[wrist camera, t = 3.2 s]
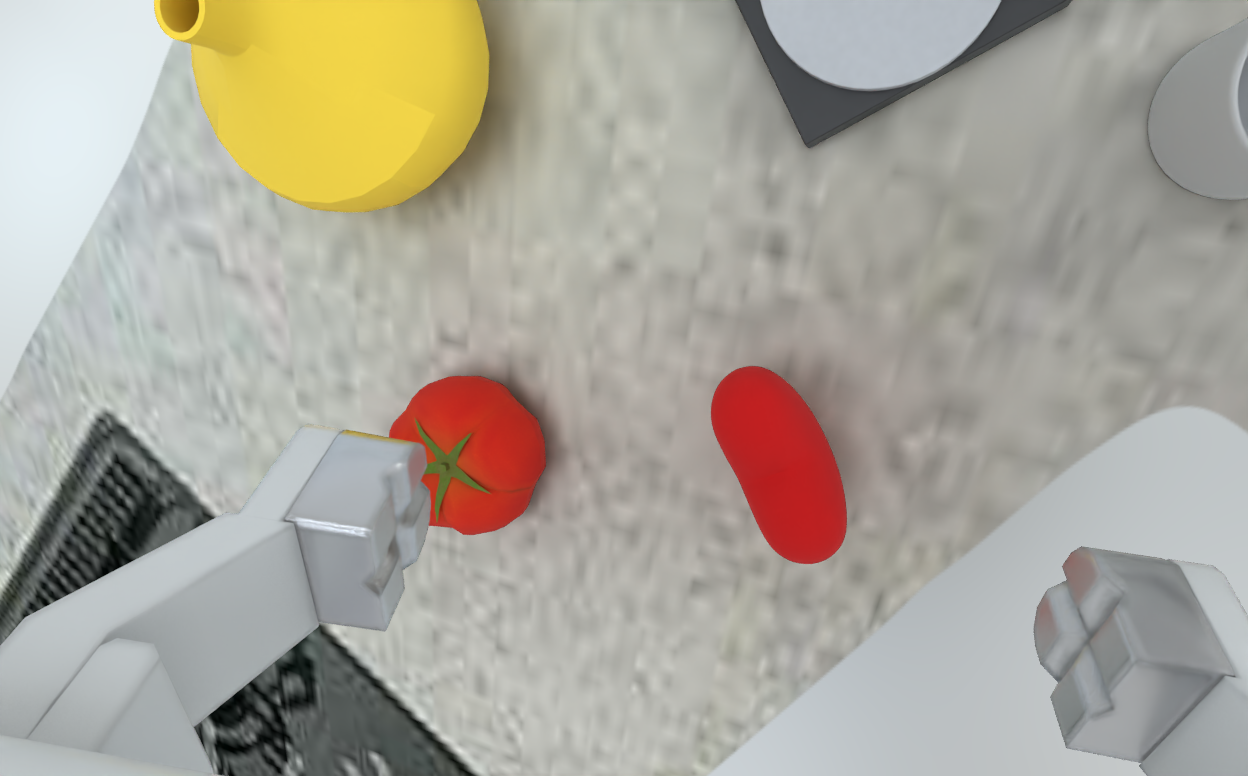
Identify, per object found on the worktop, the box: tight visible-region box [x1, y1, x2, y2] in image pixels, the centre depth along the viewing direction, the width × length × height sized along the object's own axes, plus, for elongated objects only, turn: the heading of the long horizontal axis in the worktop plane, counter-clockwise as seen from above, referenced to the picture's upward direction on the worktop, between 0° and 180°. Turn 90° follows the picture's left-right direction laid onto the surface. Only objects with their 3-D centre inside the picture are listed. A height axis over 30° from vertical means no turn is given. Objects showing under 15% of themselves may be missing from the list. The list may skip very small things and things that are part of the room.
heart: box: [711, 366, 847, 564], centre depth 47 cm, size 12×5×10 cm, turn 27°
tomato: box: [389, 376, 546, 535], centre depth 55 cm, size 11×11×8 cm
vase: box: [154, 0, 489, 212], centre depth 47 cm, size 18×18×19 cm
